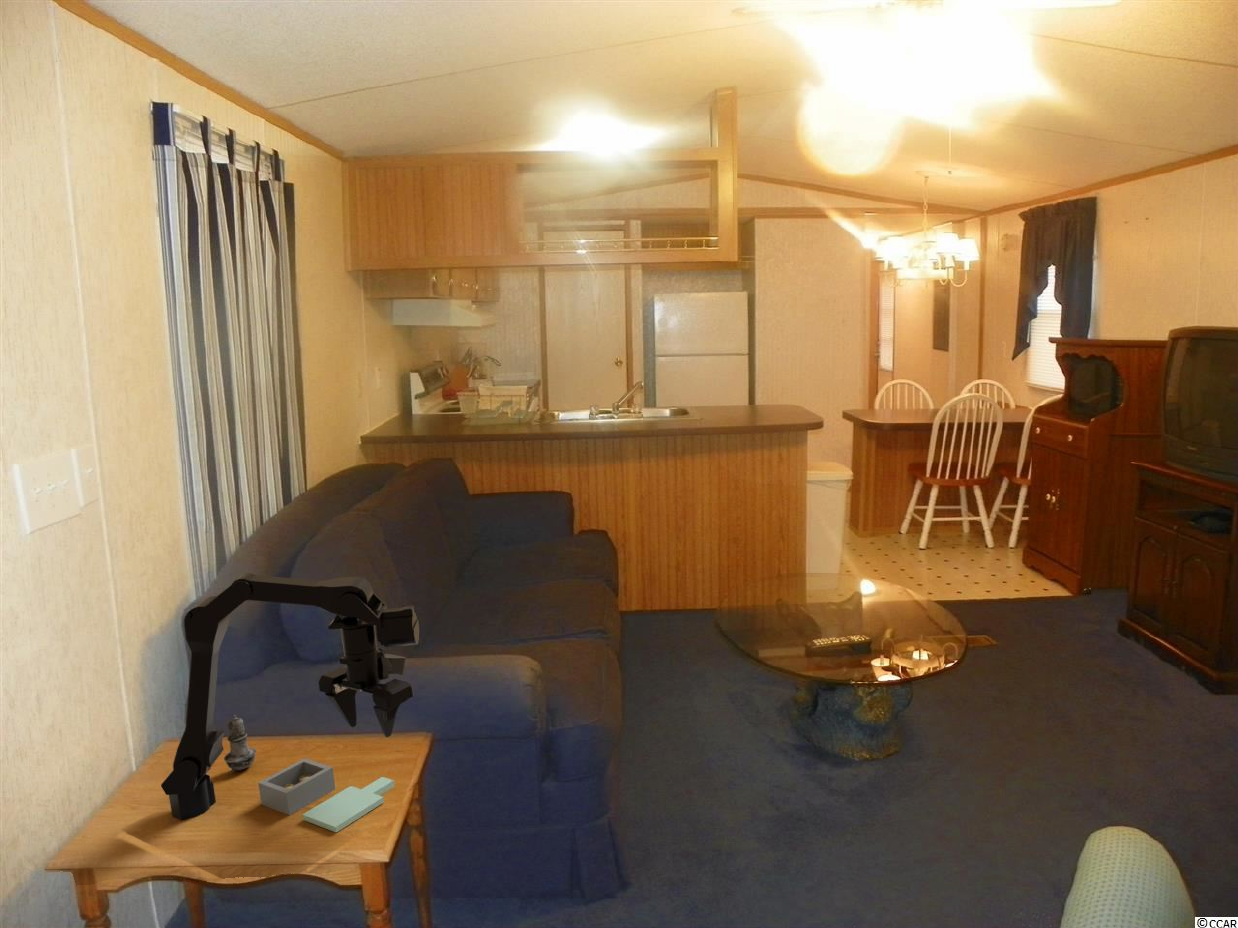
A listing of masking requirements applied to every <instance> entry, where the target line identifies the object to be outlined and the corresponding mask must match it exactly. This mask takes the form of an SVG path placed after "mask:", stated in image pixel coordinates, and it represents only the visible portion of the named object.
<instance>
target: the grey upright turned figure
mask: <svg viewBox="0 0 1238 928" xmlns="http://www.w3.org/2000/svg"><path fill="white" fill-rule="evenodd" d="M227 730H228V737H227V741H229V747H230V750H229V752H228V753H227V754H226V755H224V758H223V760H224V762H226V765H227V766H228V768H230V769H231V770H230V771H229V772H228V773H227V776H229V775H232V774H233V773H235V772H242V771H245V770H247V769H248V768H249V767H250V766H251V765H252V764H253V763H254V762H255V757H256V754H257V750H256V749H255V748H254V747H249V744H248V741H247V736H248V733H247V732H246V731H245V725H244V720H243V719H242V718H241V717H237V715H236V714H233V715H232V718H231V719H230V720H228V721H227Z"/></svg>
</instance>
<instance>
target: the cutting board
mask: <svg viewBox="0 0 1238 928" xmlns="http://www.w3.org/2000/svg"><path fill="white" fill-rule="evenodd" d="M394 787H395V780H393V779H392V778H387V777H384V776H381V777H379V778H378V779H376V780H374V781H373V782H371V783H370V784H368V785H366V786H364V787H363V788H358V787H356V786H352V785H350V786H348V787H346V788H345V789H343V790H342V791H340V792H337V793H336V794H335V795H332V796H331V797H330V798H328V799H327V800H324V801H323V802H321V803H319V804H318V805H316V806H315V807H313V808H311V809H309V810H308V811H306V812H304V813H303V814H302V820H303V821H305V822H307V823H311V824H314V825H316V826H318V827H321V828H323V829H327V830H329V831H332V832H333V833H338V832H340V831H341V830H343V829H344V828H346V827H347V826H349V825H350V824H352V823H353V822H356V821H357V820H359V819H360V818H362V817H363V816H366V814H368V813H369V812H371V811H372V810H375V809H376V808H378V807H379V806H380V805H382V804H383V803H385V798H384V796H382V795H383V794H385V793H386V792H388V791H390V790H391V789H393V788H394Z"/></svg>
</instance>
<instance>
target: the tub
mask: <svg viewBox="0 0 1238 928" xmlns="http://www.w3.org/2000/svg"><path fill="white" fill-rule="evenodd" d="M305 774H312V776H311V777H309V778H307V779H305V780H303V781H302V782H300V781H299V778H300V777H301V776H302V775H305ZM334 776H335V775H334V768H333V767H332V766H329V765H327V764H324V763H320V762H318V761H317V762H316V761H314V760H311V759H307V758H302V759H301V760H299V761H297V762H295V763H293V764H292V765H289V766H288V767H286V768H283V769H282V770H280V771H277V772H276V773H274V774H272V775H270V776H268V777H267V778H264V779H262V780H261V781H259V782H258V790H259V797H260V802H261V803H260V804H261V805H262V806H264V807H267V808H270V809H272V810H274V811H277V812H279V813H283V814H285V815H287V816H291V815H294V813H295V814H296V813H297V812H298V811H300V810H302V809H303V808H306V807H307V806H309V805H311V804H312V803H314V802H316V801H317V800H319V799H321V798H323V797H324V796H326V795H328V794H329V793H331V792H333V791H334V790H336V783H335V777H334ZM287 784H294V786H293V787H291V788H289V789H286V788H283V787H282V786H284V785H287Z"/></svg>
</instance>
